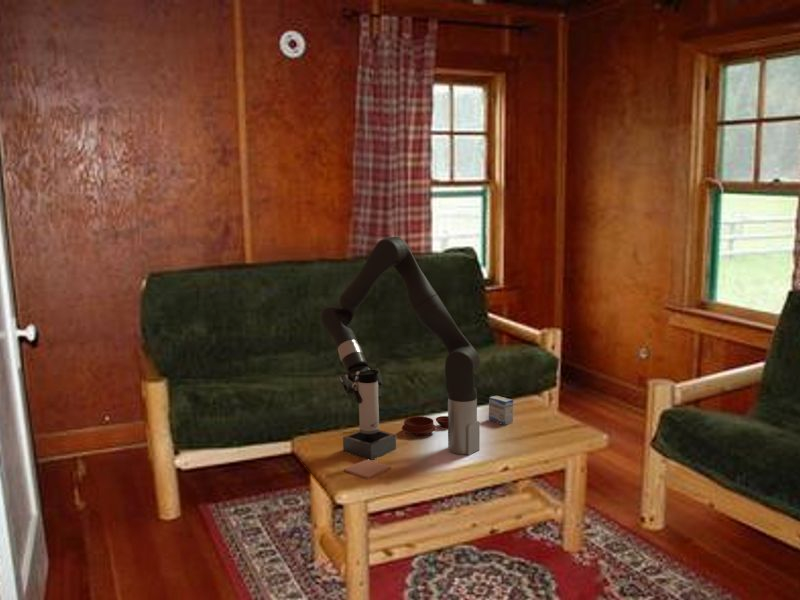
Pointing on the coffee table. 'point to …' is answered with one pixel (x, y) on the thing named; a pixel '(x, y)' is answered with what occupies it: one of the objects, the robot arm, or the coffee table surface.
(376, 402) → the travel mug
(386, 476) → the coffee table surface
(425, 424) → the pottery
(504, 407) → the medicine box
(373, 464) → the rubber mat
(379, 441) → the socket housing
